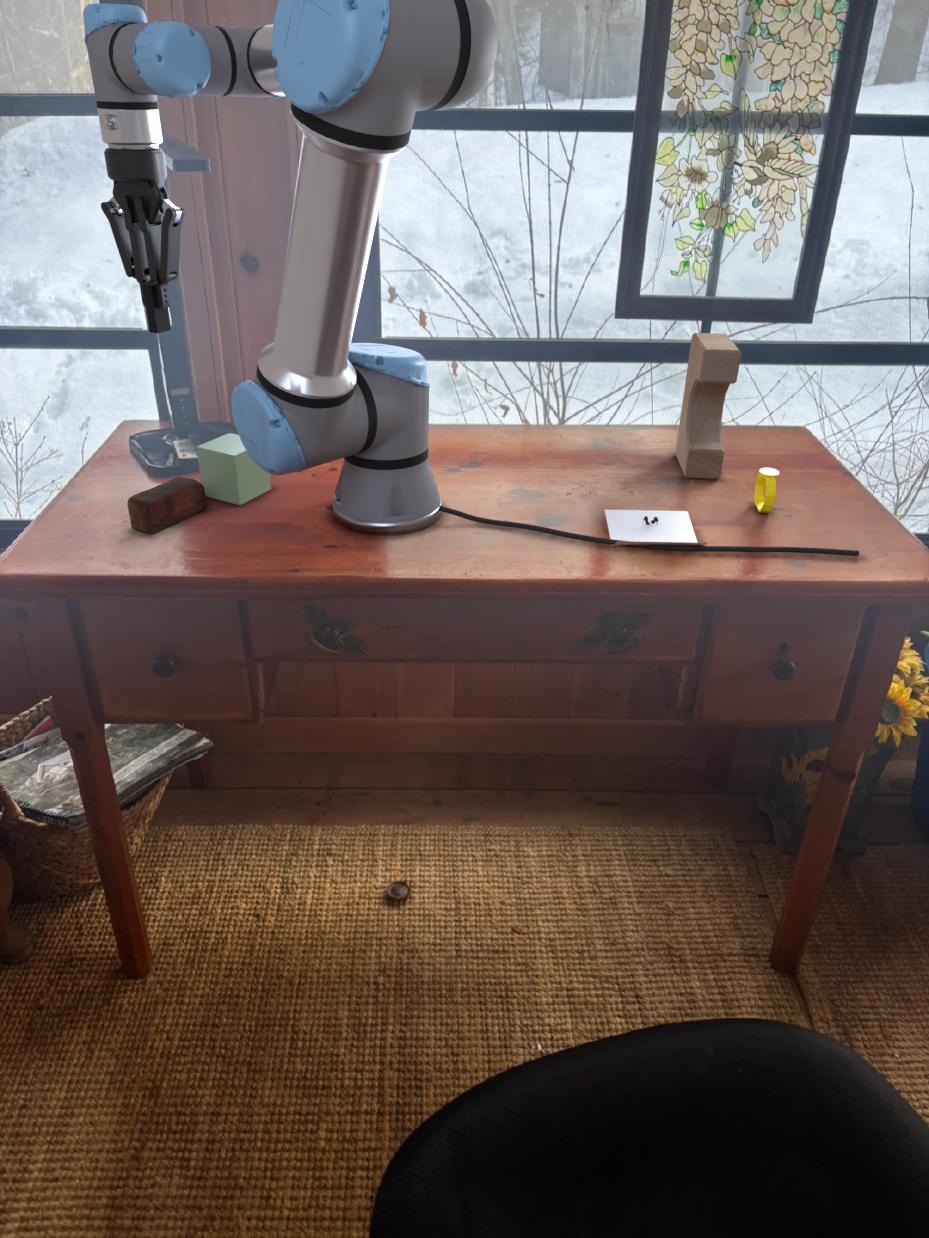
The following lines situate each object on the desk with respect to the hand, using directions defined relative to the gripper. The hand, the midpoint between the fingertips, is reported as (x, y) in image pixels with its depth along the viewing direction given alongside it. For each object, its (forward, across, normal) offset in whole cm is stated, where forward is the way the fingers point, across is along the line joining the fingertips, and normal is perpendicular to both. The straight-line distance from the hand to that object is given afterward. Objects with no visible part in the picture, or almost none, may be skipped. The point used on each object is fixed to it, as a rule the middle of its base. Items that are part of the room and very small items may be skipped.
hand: (160, 330), depth 131 cm
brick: (+21, +11, -15) cm, 29 cm away
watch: (+21, +83, +29) cm, 91 cm away
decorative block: (+21, +71, +41) cm, 85 cm away
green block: (+21, +13, -3) cm, 25 cm away
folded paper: (+21, +72, +12) cm, 76 cm away
